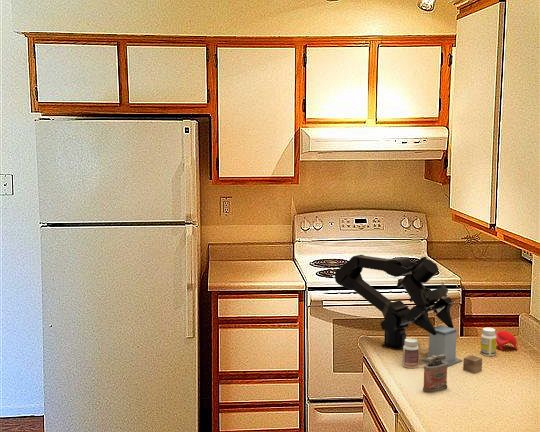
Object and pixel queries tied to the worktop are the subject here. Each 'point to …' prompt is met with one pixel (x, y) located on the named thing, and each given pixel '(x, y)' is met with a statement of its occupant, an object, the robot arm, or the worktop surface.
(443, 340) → the cover
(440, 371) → the lighter
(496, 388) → the worktop surface
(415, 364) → the pill bottle
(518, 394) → the worktop surface
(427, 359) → the coaster
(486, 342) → the supplement bottle
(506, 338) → the red plastic curved piece
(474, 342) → the worktop surface
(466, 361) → the block
